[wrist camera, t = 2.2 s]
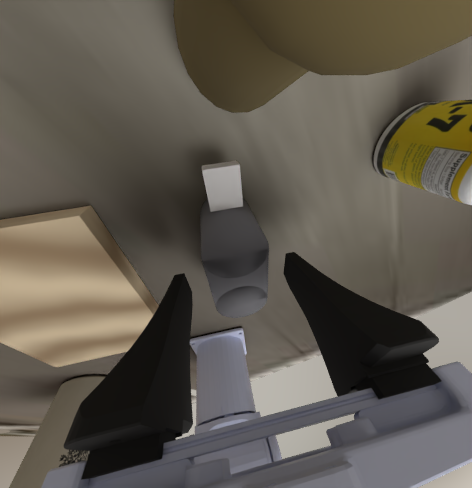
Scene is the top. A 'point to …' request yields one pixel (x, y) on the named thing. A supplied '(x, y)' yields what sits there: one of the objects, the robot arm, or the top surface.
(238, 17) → the cork
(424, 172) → the supplement bottle
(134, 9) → the top surface
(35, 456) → the travel mug
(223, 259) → the connector
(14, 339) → the wooden board
